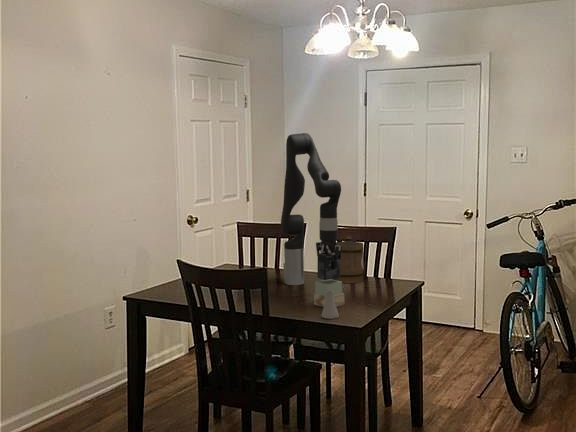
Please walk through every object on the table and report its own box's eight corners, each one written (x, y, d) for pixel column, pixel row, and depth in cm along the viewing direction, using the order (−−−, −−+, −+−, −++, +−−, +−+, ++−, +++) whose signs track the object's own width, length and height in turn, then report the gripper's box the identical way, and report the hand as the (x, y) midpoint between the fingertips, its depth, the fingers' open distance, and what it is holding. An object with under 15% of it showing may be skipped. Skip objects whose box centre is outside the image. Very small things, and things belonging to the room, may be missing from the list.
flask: (319, 314, 257) (319, 290, 256) (337, 314, 257) (337, 289, 256) (322, 319, 250) (321, 294, 248) (340, 319, 250) (340, 293, 249)
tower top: (315, 293, 272) (315, 281, 271) (329, 290, 277) (328, 278, 276) (328, 296, 266) (328, 284, 265) (342, 293, 271) (342, 281, 270)
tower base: (314, 305, 273) (313, 293, 272) (330, 301, 278) (329, 290, 278) (328, 309, 266) (328, 297, 265) (344, 305, 271) (344, 293, 271)
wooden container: (369, 281, 315) (369, 236, 313) (345, 285, 308) (345, 239, 305) (350, 275, 328) (350, 232, 325) (327, 279, 320) (326, 235, 317)
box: (325, 280, 266) (325, 255, 265) (317, 278, 271) (316, 253, 270) (340, 278, 270) (340, 252, 269) (332, 275, 275) (332, 251, 274)
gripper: (310, 227, 271) (310, 267, 273) (333, 231, 260) (333, 272, 262) (323, 225, 276) (324, 264, 278) (347, 229, 265) (347, 270, 267)
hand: (328, 268), depth 270 cm, fingers closed on box, 5 cm apart
